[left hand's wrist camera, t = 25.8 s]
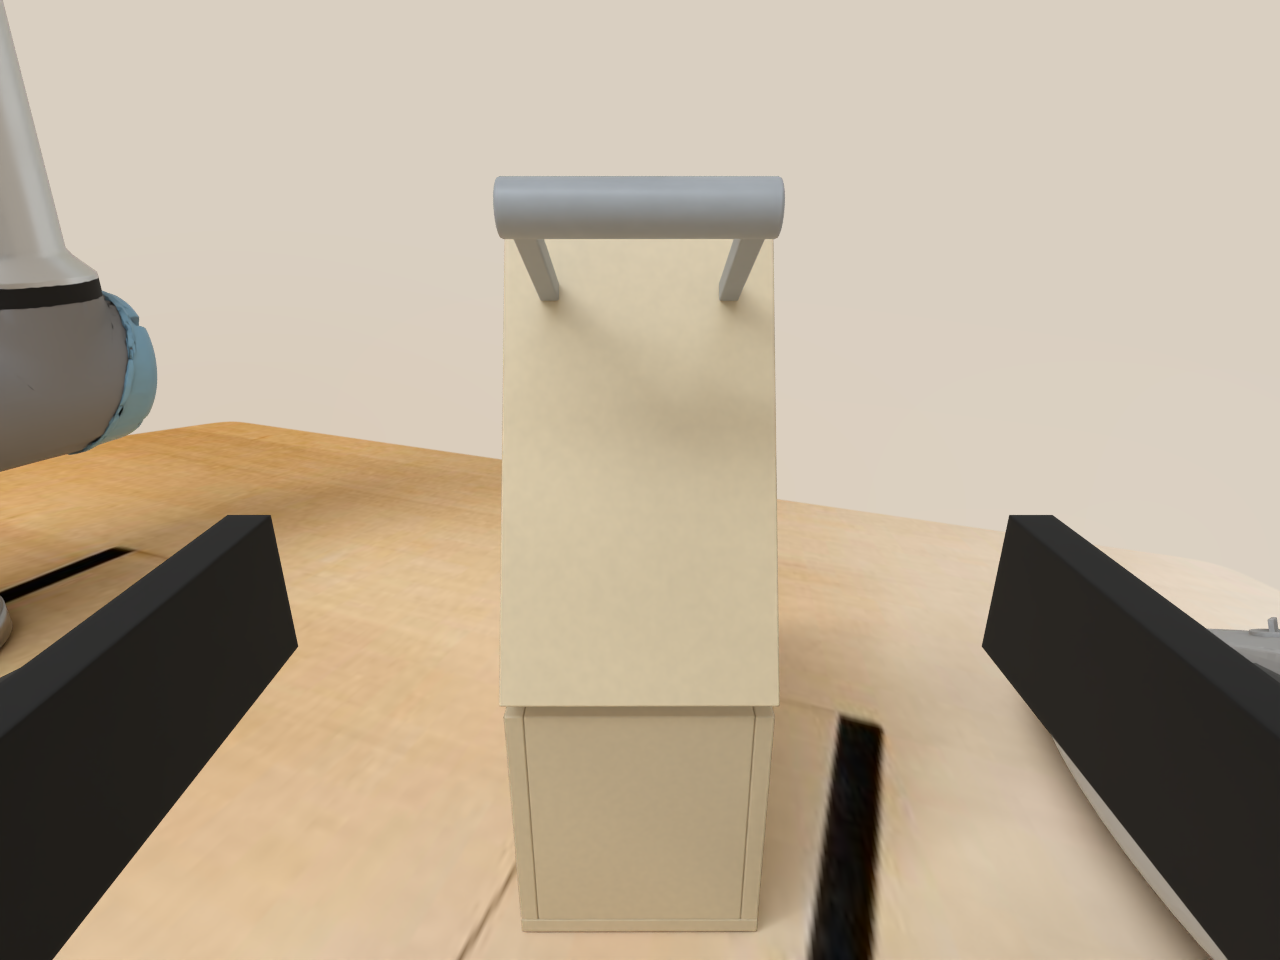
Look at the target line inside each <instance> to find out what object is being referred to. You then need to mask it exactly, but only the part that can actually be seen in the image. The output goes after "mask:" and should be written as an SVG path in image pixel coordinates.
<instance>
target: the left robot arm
mask: <svg viewBox="0 0 1280 960" xmlns="http://www.w3.org/2000/svg"><path fill="white" fill-rule="evenodd" d="M297 647H298V643H297V639H296V634H295V629H294V624H293V619H292V615H291V610H290V605H289V600H288V596H287V591H286V586H285V581H284V576H283V572H282V567H281V562H280V557H279V553H278V548H277V543H276V538H275V534H274V529H273V524H272V519H271V515H227V516H226V517H224V518H223V519H222V520H220V521H219V522H218V523H216V524H215V525H213V526H212V527H211V528H209V529H208V530H207V531H205V532H204V533H203V534H201V535H200V536H199V537H197V538H196V539H195V540H193V541H192V542H190V543H189V544H188V545H186V546H185V547H184V548H182V549H181V550H180V551H178V552H177V553H176V554H174V555H173V556H171V557H170V558H169V559H167V560H166V561H165V562H163V563H162V564H161V565H159V566H158V567H157V568H155V569H154V570H153V571H151V572H150V573H148V574H147V575H146V576H144V577H143V578H142V579H140V580H139V581H138V582H136V583H135V584H134V585H132V586H131V587H129V588H128V589H127V590H125V591H124V592H123V593H121V594H120V595H119V596H117V597H116V598H115V599H113V600H112V601H111V602H109V603H108V604H106V605H105V606H104V607H102V608H101V609H100V610H98V611H97V612H96V613H94V614H93V615H92V616H90V617H89V618H87V619H86V620H85V621H83V622H82V623H81V624H79V625H78V626H77V627H75V628H74V629H73V630H71V631H70V632H69V633H67V634H66V635H64V636H63V637H62V638H60V639H59V640H58V641H56V642H55V643H54V644H52V645H51V646H50V647H48V648H47V649H45V650H44V651H43V652H41V653H40V654H39V655H37V656H36V657H35V658H33V659H32V660H31V661H29V662H28V663H27V664H25V665H24V666H22V667H21V668H19V669H17V670H15V671H13V672H11V673H9V674H7V675H5V676H3V677H1V678H0V960H53V958H54V957H55V956H56V954H57V953H58V952H59V951H60V949H61V948H62V947H63V946H64V944H65V943H66V942H67V940H68V939H69V938H70V937H71V935H72V934H73V933H74V932H75V930H76V929H77V928H78V926H79V925H80V924H81V923H82V921H83V920H84V919H85V917H86V916H87V915H88V914H89V912H90V911H91V910H92V909H93V907H94V906H95V905H96V903H97V902H98V901H99V900H100V898H101V897H102V896H103V895H104V893H105V892H106V891H107V889H108V888H109V887H110V886H111V884H112V883H113V882H114V881H115V879H116V878H117V877H118V875H119V874H120V873H121V872H122V870H123V869H124V868H125V867H126V865H127V864H128V863H129V861H130V860H131V859H132V858H133V856H134V855H135V854H136V852H137V851H138V850H139V849H140V847H141V846H142V845H143V844H144V842H145V841H146V840H147V838H148V837H149V836H150V835H151V833H152V832H153V831H154V830H155V828H156V827H157V826H158V824H159V823H160V822H161V821H162V819H163V818H164V817H165V816H166V814H167V813H168V812H169V810H170V809H171V808H172V807H173V805H174V804H175V803H176V802H177V800H178V799H179V798H180V796H181V795H182V794H183V793H184V791H185V790H186V789H187V787H188V786H189V785H190V784H191V782H192V781H193V780H194V779H195V777H196V776H197V775H198V773H199V772H200V771H201V770H202V768H203V767H204V766H205V765H206V763H207V762H208V761H209V759H210V758H211V757H212V756H213V754H214V753H215V752H216V751H217V749H218V748H219V747H220V745H221V744H222V743H223V742H224V740H225V739H226V738H227V737H228V735H229V734H230V733H231V731H232V730H233V729H234V728H235V726H236V725H237V724H238V722H239V721H240V720H241V719H242V717H243V716H244V715H245V714H246V712H247V711H248V710H249V708H250V707H251V706H252V705H253V703H254V702H255V701H256V700H257V698H258V697H259V696H260V694H261V693H262V692H263V691H264V689H265V688H266V687H267V686H268V684H269V683H270V682H271V680H272V679H273V678H274V677H275V675H276V674H277V673H278V671H279V670H280V669H281V668H282V666H283V665H284V664H285V663H286V661H287V660H288V659H289V657H290V656H291V655H292V654H293V652H294V651H295V650H296V649H297ZM982 647H983V649H984V650H985V651H986V652H987V654H988V655H989V656H990V657H991V659H992V660H993V661H994V663H995V664H996V665H997V666H998V668H999V669H1000V670H1001V671H1002V673H1003V674H1004V675H1005V677H1006V678H1007V679H1008V680H1009V682H1010V683H1011V684H1012V686H1013V687H1014V688H1015V689H1016V691H1017V692H1018V693H1019V694H1020V696H1021V697H1022V698H1023V700H1024V701H1025V702H1026V703H1027V705H1028V706H1029V707H1030V708H1031V710H1032V711H1033V712H1034V714H1035V715H1036V716H1037V717H1038V719H1039V720H1040V721H1041V722H1042V724H1043V725H1044V726H1045V728H1046V729H1047V730H1048V731H1049V733H1050V734H1051V735H1052V737H1053V738H1054V739H1055V740H1056V742H1057V743H1058V744H1059V745H1060V747H1061V748H1062V749H1063V751H1064V752H1065V753H1066V754H1067V756H1068V757H1069V758H1070V759H1071V761H1072V762H1073V763H1074V765H1075V766H1076V767H1077V768H1078V770H1079V771H1080V772H1081V773H1082V775H1083V776H1084V777H1085V779H1086V780H1087V781H1088V782H1089V784H1090V785H1091V786H1092V787H1093V789H1094V790H1095V791H1096V793H1097V794H1098V795H1099V796H1100V798H1101V799H1102V800H1103V802H1104V803H1105V804H1106V805H1107V807H1108V808H1109V809H1110V810H1111V812H1112V813H1113V814H1114V816H1115V817H1116V818H1117V819H1118V821H1119V822H1120V823H1121V824H1122V826H1123V827H1124V828H1125V830H1126V831H1127V832H1128V833H1129V835H1130V836H1131V837H1132V838H1133V840H1134V841H1135V842H1136V844H1137V845H1138V846H1139V847H1140V849H1141V850H1142V851H1143V852H1144V854H1145V855H1146V856H1147V858H1148V859H1149V860H1150V861H1151V863H1152V864H1153V865H1154V867H1155V868H1156V869H1157V870H1158V872H1159V873H1160V874H1161V875H1162V877H1163V878H1164V879H1165V881H1166V882H1167V883H1168V884H1169V886H1170V887H1171V888H1172V889H1173V891H1174V892H1175V893H1176V895H1177V896H1178V897H1179V898H1180V900H1181V901H1182V902H1183V903H1184V905H1185V906H1186V907H1187V909H1188V910H1189V911H1190V912H1191V914H1192V915H1193V916H1194V917H1195V919H1196V920H1197V921H1198V923H1199V924H1200V925H1201V926H1202V928H1203V929H1204V930H1205V932H1206V933H1207V934H1208V935H1209V937H1210V938H1211V939H1212V940H1213V942H1214V943H1215V944H1216V946H1217V947H1218V948H1219V949H1220V951H1221V952H1222V953H1223V954H1224V956H1225V957H1226V958H1227V960H1280V675H1279V674H1277V673H1275V672H1273V671H1271V670H1269V669H1267V668H1265V667H1263V666H1261V665H1259V664H1257V663H1252V662H1251V661H1249V660H1248V659H1247V658H1245V657H1244V656H1243V655H1241V654H1240V653H1239V652H1237V651H1236V650H1235V649H1233V648H1232V647H1230V646H1229V645H1228V644H1226V643H1225V642H1224V641H1222V640H1221V639H1220V638H1218V637H1217V636H1216V635H1214V634H1213V633H1211V632H1210V631H1209V630H1207V629H1206V628H1205V627H1203V626H1202V625H1201V624H1199V623H1198V622H1197V621H1195V620H1194V619H1193V618H1191V617H1190V616H1188V615H1187V614H1186V613H1184V612H1183V611H1182V610H1180V609H1179V608H1178V607H1176V606H1175V605H1174V604H1172V603H1171V602H1169V601H1168V600H1167V599H1165V598H1164V597H1163V596H1161V595H1160V594H1159V593H1157V592H1156V591H1155V590H1153V589H1152V588H1151V587H1149V586H1148V585H1146V584H1145V583H1144V582H1142V581H1141V580H1140V579H1138V578H1137V577H1136V576H1134V575H1133V574H1132V573H1130V572H1129V571H1127V570H1126V569H1125V568H1123V567H1122V566H1121V565H1119V564H1118V563H1117V562H1115V561H1114V560H1113V559H1111V558H1110V557H1109V556H1107V555H1106V554H1104V553H1103V552H1102V551H1100V550H1099V549H1098V548H1096V547H1095V546H1094V545H1092V544H1091V543H1090V542H1088V541H1087V540H1085V539H1084V538H1083V537H1081V536H1080V535H1079V534H1077V533H1076V532H1075V531H1073V530H1072V529H1071V528H1069V527H1068V526H1066V525H1065V524H1064V523H1062V522H1061V521H1060V520H1058V519H1057V518H1056V517H1054V516H1053V515H1009V519H1008V524H1007V529H1006V533H1005V538H1004V543H1003V548H1002V553H1001V557H1000V562H999V567H998V572H997V576H996V581H995V586H994V591H993V596H992V600H991V605H990V610H989V615H988V619H987V624H986V629H985V634H984V639H983V643H982Z"/></svg>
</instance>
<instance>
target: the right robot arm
mask: <svg viewBox="0 0 1280 960" xmlns="http://www.w3.org/2000/svg"><path fill="white" fill-rule="evenodd" d="M156 388H157V366H156V359H155V354H154V350H153V346H152V343H151V340H150V337H149V335H148V333H147V330H146V329H145V328H144V327H141V326H139V316H138V315H137V314H136V312H135V311H134V310H133V309H132V308H131V306H130V305H128V304H127V303H126V302H125V301H123V300H122V299H121V298H119V297H117V296H115V295H113V294H110V293H107V292H104V291H102V290H101V286H100V282H99V277H98V274H97V272H96V271H95V270H94V269H92V268H91V267H89V266H88V265H87V264H85V263H84V262H82V261H81V260H79V259H78V258H77V257H75V256H74V255H72V254H71V253H70V252H69V251H68V250H67V248H66V247H65V244H64V240H63V236H62V232H61V228H60V224H59V220H58V216H57V212H56V208H55V205H54V201H53V197H52V193H51V189H50V185H49V181H48V177H47V173H46V169H45V165H44V161H43V157H42V153H41V149H40V145H39V142H38V138H37V134H36V130H35V126H34V122H33V118H32V114H31V110H30V106H29V102H28V98H27V94H26V90H25V86H24V82H23V79H22V75H21V71H20V67H19V63H18V59H17V55H16V51H15V47H14V43H13V39H12V35H11V31H10V27H9V24H8V20H7V16H6V12H5V8H4V4H3V0H0V472H1V471H5V470H9V469H12V468H16V467H20V466H23V465H27V464H31V463H35V462H38V461H42V460H46V459H49V458H53V457H57V456H61V455H65V454H68V455H72V454H78V453H81V452H86V451H88V450H90V449H92V448H94V447H95V446H97V445H100V444H103V443H106V442H109V441H112V440H115V439H119V438H121V437H124V436H126V435H128V434H130V433H132V432H133V431H134V430H136V429H137V428H138V427H139V426H140V425H141V423H142V421H143V419H144V418H145V417H146V416H147V415H148V414H149V412H150V410H151V408H152V405H153V402H154V399H155V394H156ZM12 626H13V625H12V620H11V618H10V615H9V612H8V610H7V607H6V605H5V602H4V600H3V598H2V597H1V596H0V648H1V647H2V646H3V645H4V643H5V642H6V641H7V639H8V638H9V636H10V634H11V631H12Z"/></svg>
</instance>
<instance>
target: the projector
mask: <svg viewBox="0 0 1280 960" xmlns="http://www.w3.org/2000/svg"><path fill="white" fill-rule="evenodd" d="M1268 626H1269V629H1251V630H1249V631H1244V630H1224V629H1207V630H1209V631H1210V632H1211V633H1213V634H1214V635H1216V636H1217V637H1218V638H1220V639H1221V640H1222V641H1224V642H1225V643H1226V644H1228V645H1229V646H1230V647H1232V648H1233V649H1235V650H1236V651H1237V652H1239V653H1240V654H1241V655H1243V656H1244V657H1245V658H1247V659H1248V660H1249V661H1251V662H1252V663H1257V664H1259V665H1261V666H1263V667H1265V668H1267V669H1269V670H1271V671H1273V672H1275V673H1277V674H1279V675H1280V629H1278V624H1277V618H1276V617H1271V618H1270V619H1268ZM1051 736H1052V735H1051ZM1052 738H1053V737H1052ZM1053 740H1054V742H1055V744H1056V746H1057V748H1058V750H1059V752H1060V754H1061V756H1062V758H1063V759H1064V761H1065V763H1066V765H1067V767H1068V768H1069V770H1070V772H1071V773H1072V775H1073V777H1074V778H1075V780H1076V782H1077V783H1078V785H1079V787H1080V788H1081V790H1082V791H1083V793H1084V794H1085V796H1086V797H1087V799H1088V800H1089V802H1090V804H1091V805H1092V807H1093V808H1094V810H1095V811H1096V813H1097V814H1098V816H1099V817H1100V819H1101V820H1102V822H1103V823H1104V824H1105V826H1106V827H1107V829H1108V830H1109V831H1110V833H1111V834H1112V836H1113V837H1114V838H1115V840H1116V841H1117V843H1118V844H1119V845H1120V847H1121V848H1122V850H1123V851H1124V852H1125V854H1126V855H1127V856H1128V858H1129V859H1130V860H1131V862H1132V863H1133V864H1134V865H1135V867H1136V868H1137V869H1138V871H1139V872H1140V873H1141V875H1142V876H1143V877H1144V879H1145V880H1146V881H1147V883H1148V884H1149V885H1150V886H1151V887H1152V889H1153V890H1154V891H1155V892H1156V894H1157V895H1158V896H1159V897H1160V899H1161V900H1162V901H1163V902H1164V904H1165V905H1166V906H1167V907H1168V909H1169V910H1170V911H1171V912H1172V914H1173V915H1174V916H1175V917H1176V918H1177V919H1178V921H1179V922H1180V923H1181V924H1182V925H1183V926H1184V928H1185V929H1186V930H1187V931H1188V932H1189V933H1190V934H1191V936H1192V937H1193V938H1194V939H1195V940H1196V941H1197V943H1198V944H1199V945H1200V946H1201V947H1202V948H1203V949H1204V950H1205V951H1206V952H1207V953H1208V954H1209V955H1210V956H1211V958H1212V959H1213V960H1227V958H1226V957H1225V956H1224V954H1223V953H1222V952H1221V951H1220V949H1219V948H1218V947H1217V946H1216V944H1215V943H1214V942H1213V940H1212V939H1211V938H1210V937H1209V935H1208V934H1207V933H1206V932H1205V930H1204V929H1203V928H1202V926H1201V925H1200V924H1199V923H1198V921H1197V920H1196V919H1195V917H1194V916H1193V915H1192V914H1191V912H1190V911H1189V910H1188V909H1187V907H1186V906H1185V905H1184V903H1183V902H1182V901H1181V900H1180V898H1179V897H1178V896H1177V895H1176V893H1175V892H1174V891H1173V889H1172V888H1171V887H1170V886H1169V884H1168V883H1167V882H1166V881H1165V879H1164V878H1163V877H1162V875H1161V874H1160V873H1159V872H1158V870H1157V869H1156V868H1155V867H1154V865H1153V864H1152V863H1151V861H1150V860H1149V859H1148V858H1147V856H1146V855H1145V854H1144V852H1143V851H1142V850H1141V849H1140V847H1139V846H1138V845H1137V844H1136V842H1135V841H1134V840H1133V838H1132V837H1131V836H1130V835H1129V833H1128V832H1127V831H1126V830H1125V828H1124V827H1123V826H1122V824H1121V823H1120V822H1119V821H1118V819H1117V818H1116V817H1115V816H1114V814H1113V813H1112V812H1111V810H1110V809H1109V808H1108V807H1107V805H1106V804H1105V803H1104V802H1103V800H1102V799H1101V798H1100V796H1099V795H1098V794H1097V793H1096V791H1095V790H1094V789H1093V787H1092V786H1091V785H1090V784H1089V782H1088V781H1087V780H1086V779H1085V777H1084V776H1083V775H1082V773H1081V772H1080V771H1079V770H1078V768H1077V767H1076V766H1075V765H1074V763H1073V762H1072V761H1071V759H1070V758H1069V757H1068V756H1067V754H1066V753H1065V752H1064V751H1063V749H1062V748H1061V747H1060V745H1059V744H1058V743H1057V742H1056V740H1055V739H1054V738H1053Z"/></svg>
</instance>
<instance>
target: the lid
mask: <svg viewBox="0 0 1280 960" xmlns="http://www.w3.org/2000/svg"><path fill="white" fill-rule="evenodd" d="M493 205H494V216H495V223H496V228H497V231H498V234H499V236H500V237H501V238H503V239H505V256H504V338H503V339H504V340H503V421H502V505H501V588H500V671H499V706H501V707H611V706H779V631H778V555H777V480H776V405H775V404H776V403H775V327H774V251H773V239H775V238H777V237H778V236H779V234H780V231H781V228H782V223H783V217H784V206H785V191H784V183H783V180H782V178H781V177H779V176H499V177H497V178H496V180H495V184H494V191H493Z"/></svg>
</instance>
